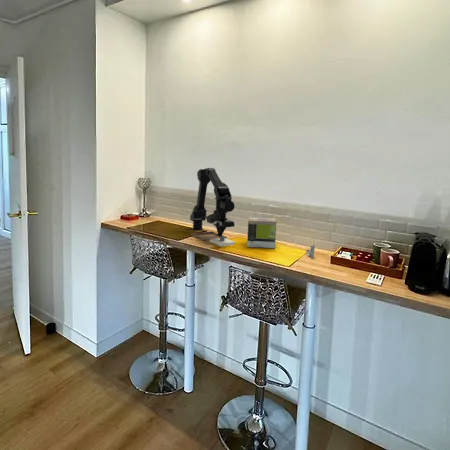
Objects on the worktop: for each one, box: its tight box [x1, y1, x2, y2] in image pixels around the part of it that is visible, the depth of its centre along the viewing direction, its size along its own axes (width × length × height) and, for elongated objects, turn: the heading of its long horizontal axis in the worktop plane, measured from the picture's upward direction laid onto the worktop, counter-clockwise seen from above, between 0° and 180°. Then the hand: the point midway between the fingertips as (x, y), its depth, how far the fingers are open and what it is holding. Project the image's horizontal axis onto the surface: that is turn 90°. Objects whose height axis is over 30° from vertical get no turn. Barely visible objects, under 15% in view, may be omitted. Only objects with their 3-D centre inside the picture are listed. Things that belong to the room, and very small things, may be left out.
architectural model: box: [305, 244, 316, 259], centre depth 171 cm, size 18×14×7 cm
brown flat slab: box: [189, 230, 228, 242], centre depth 202 cm, size 16×15×2 cm
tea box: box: [246, 217, 277, 249], centre depth 189 cm, size 15×10×15 cm, turn 84°
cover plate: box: [209, 235, 236, 247], centre depth 191 cm, size 10×10×5 cm
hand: (219, 236), depth 192 cm, fingers closed
